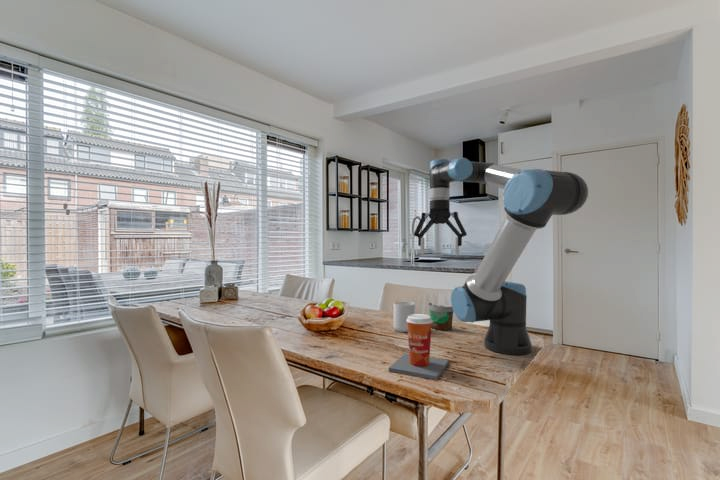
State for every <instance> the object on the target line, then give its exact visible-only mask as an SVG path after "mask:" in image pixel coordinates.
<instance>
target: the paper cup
mask: <svg viewBox="0 0 720 480" xmlns="http://www.w3.org/2000/svg"><path fill="white" fill-rule="evenodd" d="M406 321H407V322H408V332H407V334H408V335H407V336H408V337H407V338H408V354H409V355H410V364H411V365H413V366H418V367H424V366H428V365H429V358H430V357H431V356H430V354H431V338H432V337H431V336H432V329H431V323H432V322H433V321H432V319H431V317H430V316H429V315H428V314H423V313H415V314H412V315H409V316H408V319H407V320H406Z"/></svg>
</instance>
